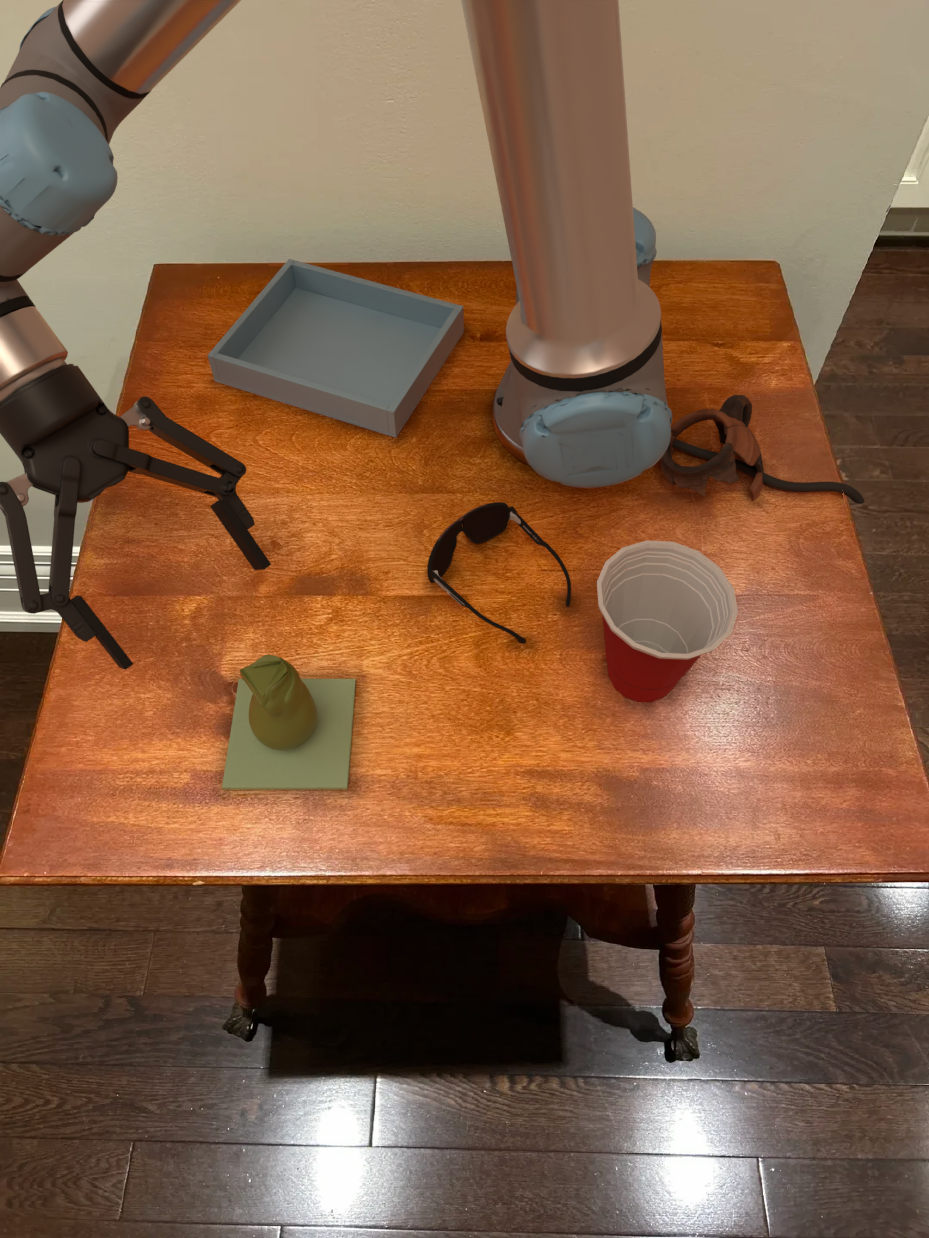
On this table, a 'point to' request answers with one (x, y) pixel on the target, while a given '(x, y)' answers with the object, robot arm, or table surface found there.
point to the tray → (339, 346)
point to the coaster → (305, 765)
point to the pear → (279, 703)
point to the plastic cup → (661, 615)
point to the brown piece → (722, 466)
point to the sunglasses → (478, 529)
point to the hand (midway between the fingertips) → (197, 615)
